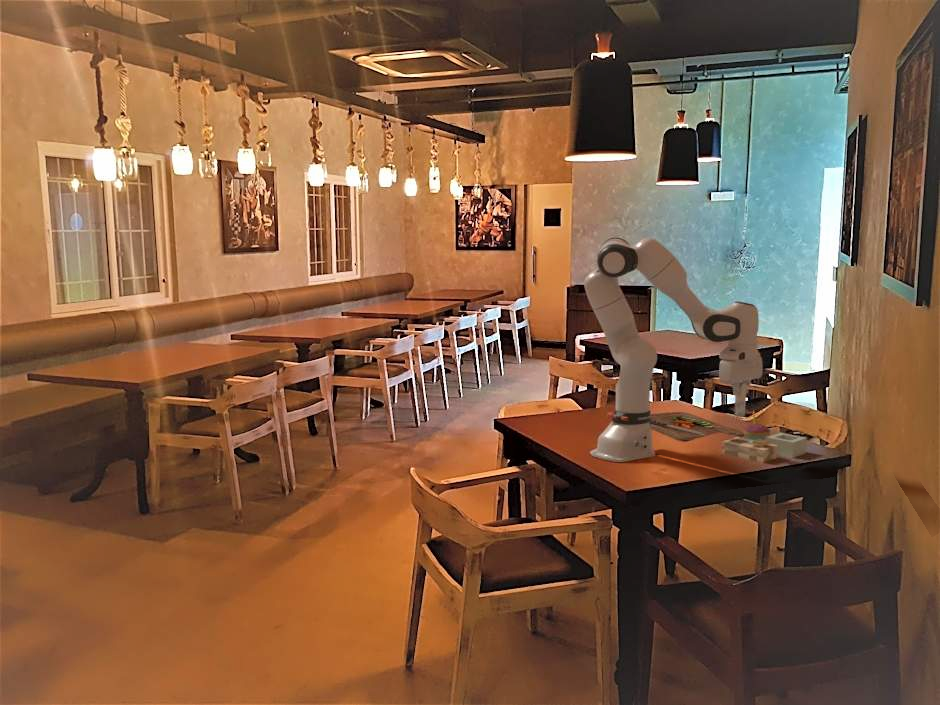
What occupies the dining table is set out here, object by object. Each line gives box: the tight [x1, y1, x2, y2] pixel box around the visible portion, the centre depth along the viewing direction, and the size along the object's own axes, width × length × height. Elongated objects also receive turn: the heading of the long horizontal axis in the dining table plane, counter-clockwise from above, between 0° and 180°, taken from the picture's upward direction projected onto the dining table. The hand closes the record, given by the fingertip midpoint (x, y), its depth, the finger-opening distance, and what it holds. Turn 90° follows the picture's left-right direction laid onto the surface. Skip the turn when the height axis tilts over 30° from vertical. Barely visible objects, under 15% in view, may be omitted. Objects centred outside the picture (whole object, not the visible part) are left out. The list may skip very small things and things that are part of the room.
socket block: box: [721, 436, 779, 464], centre depth 240 cm, size 9×14×5 cm, turn 39°
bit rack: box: [765, 432, 808, 459], centre depth 243 cm, size 9×9×6 cm
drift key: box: [752, 439, 770, 447], centre depth 237 cm, size 4×4×6 cm
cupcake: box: [743, 408, 771, 440], centre depth 257 cm, size 9×8×12 cm
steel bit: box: [733, 381, 747, 418], centre depth 241 cm, size 3×3×11 cm
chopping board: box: [649, 411, 744, 443], centre depth 284 cm, size 45×27×3 cm, turn 18°
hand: (740, 394), depth 240 cm, fingers closed on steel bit, 3 cm apart
